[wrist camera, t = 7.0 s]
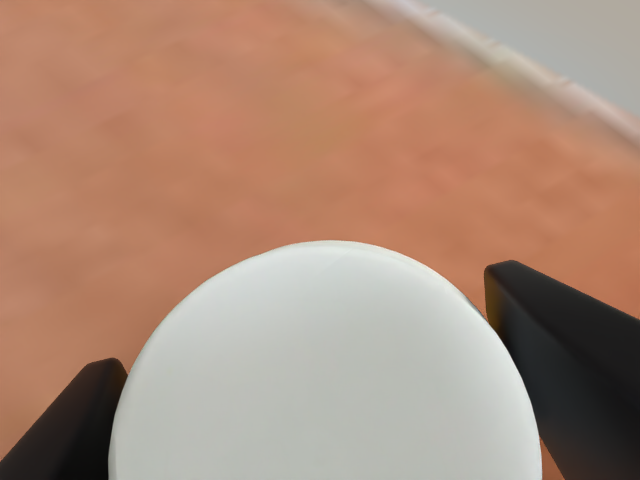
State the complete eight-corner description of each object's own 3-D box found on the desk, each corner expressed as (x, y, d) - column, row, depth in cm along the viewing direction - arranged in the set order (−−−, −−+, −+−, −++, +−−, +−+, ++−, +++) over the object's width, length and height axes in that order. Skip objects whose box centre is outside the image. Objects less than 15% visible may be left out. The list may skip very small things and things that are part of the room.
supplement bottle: (390, 565, 14) (475, 966, 5) (190, 456, 15) (-91, 607, 5) (483, 354, 15) (713, 326, 5) (290, 260, 16) (203, 94, 6)
